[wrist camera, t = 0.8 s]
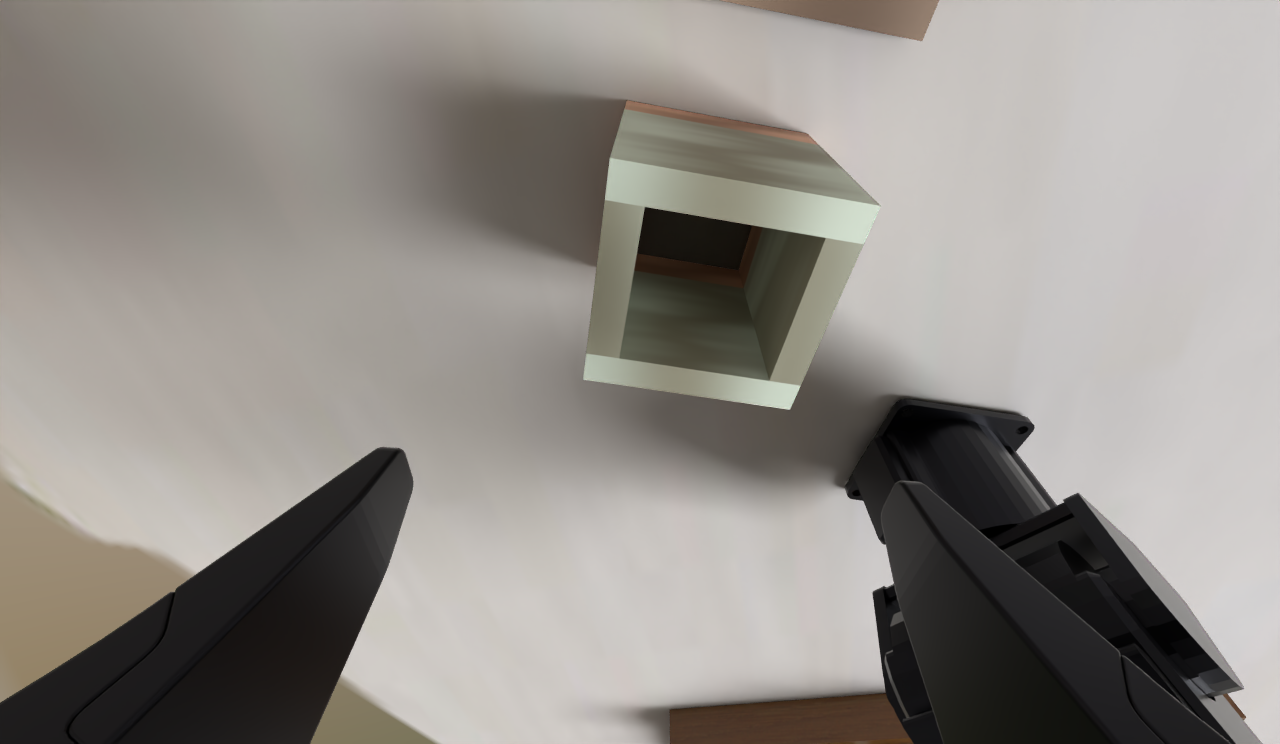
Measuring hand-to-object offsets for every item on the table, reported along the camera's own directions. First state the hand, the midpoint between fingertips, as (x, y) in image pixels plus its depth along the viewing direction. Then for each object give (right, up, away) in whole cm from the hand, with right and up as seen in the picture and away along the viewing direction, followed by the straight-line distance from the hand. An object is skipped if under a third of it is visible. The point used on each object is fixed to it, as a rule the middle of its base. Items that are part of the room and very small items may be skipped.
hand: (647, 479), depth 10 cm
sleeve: (+2, +8, +9) cm, 12 cm away
